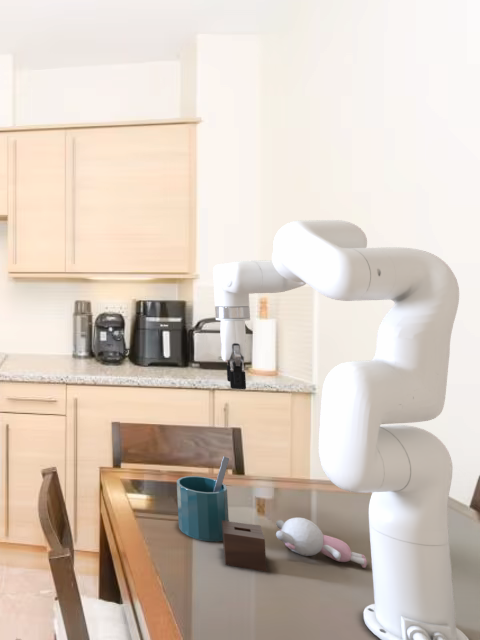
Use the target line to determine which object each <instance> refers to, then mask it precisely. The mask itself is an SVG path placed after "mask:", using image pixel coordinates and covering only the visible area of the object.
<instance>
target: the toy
mask: <svg viewBox="0 0 480 640" xmlns="http://www.w3.org/2000/svg"><path fill="white" fill-rule="evenodd" d="M275 525H276V527H277V529H278V530H276V533H275V536H276V539H278V540H280V541H281V542H282V543H284V545H285V547H286V548H288V549H289V550H290V551H292V552H293V553H295V554H297V555H299V556H304V557H310V556H311V557H312V556H315V555H317V554H318V553H321V554H323V555H325V556H326V557H328V558H330V559H332V560H333V561H336V562H338V563H348V562H349V561H351V562H354V563H356V564H359V565H360V566H361V567H362V568H363V569H366V568H367V565H368V560H367V558H366V556H365V554H363V553H358V552H354V551H352V549H351V547H350V545H348V544H347V542H345V541H343V540H342V539H339V538H336V537H334V536H331V535H326V534H323V531H322V530H321V528H320V527H319V526H318V525H317V524H316V523H314V522H313V521H312V520H309V519H307V518H304V517H292V518H289V519H287V520H286V521H284V520H282V519H278V520H277V521H276V523H275Z"/></svg>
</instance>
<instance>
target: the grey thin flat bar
mask: <svg viewBox="0 0 480 640" xmlns="http://www.w3.org/2000/svg"><path fill="white" fill-rule="evenodd" d="M229 461H230V458H229V457H226V456H223V457H222V460H221V463H220V466H219V470H218V474H217V477H216V479H215V480H216V484H215V487H214V491H213V492H218V491H220V490H221V486H222V483H223V482H224V479H225V476H226V471H227V469H228V465H229ZM223 484H224V483H223Z"/></svg>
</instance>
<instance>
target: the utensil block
mask: <svg viewBox="0 0 480 640" xmlns="http://www.w3.org/2000/svg"><path fill="white" fill-rule="evenodd" d="M222 531H223V540H222V547H223V557H224V564H225V565H227V566H231V567H237V568H243V569H247V570H248V569H249V570H253V571H260V572H267V570H268V569H267V556H266V554H267V553H266V541H265V535H264V533H263V529H262V526H261V525H259V524H258V525H257V524H250V523H245V522H244V523H243V522H238V521H237V522H236V521H223V520H222Z"/></svg>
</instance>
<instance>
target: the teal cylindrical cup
mask: <svg viewBox="0 0 480 640" xmlns="http://www.w3.org/2000/svg"><path fill="white" fill-rule="evenodd" d="M216 480H217V479H215V478H211V477H207V476H199V475H187V476H182V477H179V478H178V479H177V480H176V495H177V517H178V518H177V519H178V520H177V521H178V528H179V530H180V531H181V533H183V534H184V535H186V536H188V537H190V538H192V539H196V540H199V541H203V542H221V541H222V542H223V531H222V520H223V521H229V520H230V519H229V502H228V487H227V485H226V484H224V483H222V486H221V490H220V491H218V492H213V491H214V487H215V484H216Z"/></svg>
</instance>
